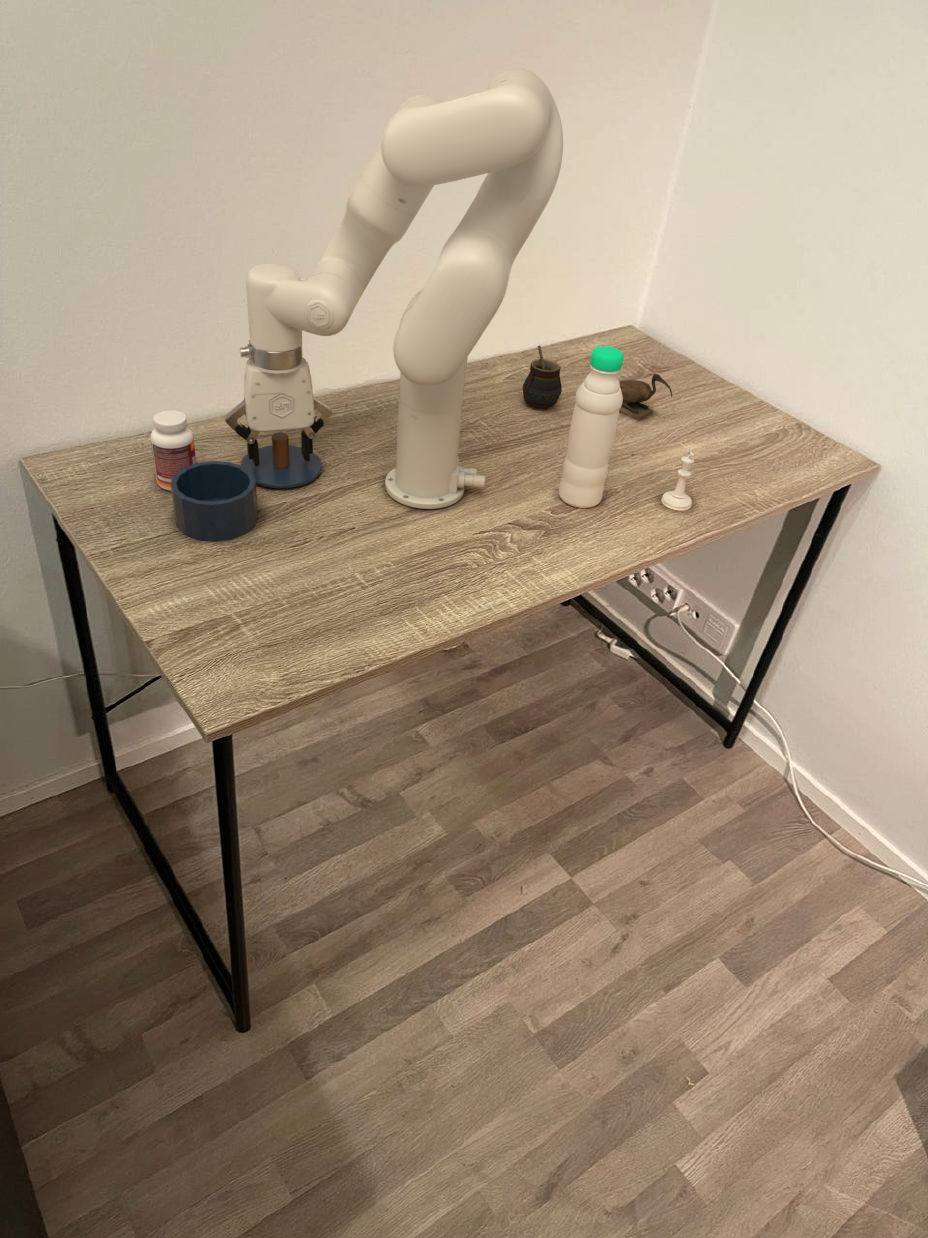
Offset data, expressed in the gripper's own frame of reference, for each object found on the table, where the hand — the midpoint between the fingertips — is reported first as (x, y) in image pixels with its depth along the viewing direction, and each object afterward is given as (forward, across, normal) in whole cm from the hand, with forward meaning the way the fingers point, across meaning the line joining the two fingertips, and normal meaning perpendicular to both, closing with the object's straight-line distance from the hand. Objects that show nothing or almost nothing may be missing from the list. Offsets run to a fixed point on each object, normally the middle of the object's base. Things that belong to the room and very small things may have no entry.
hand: (280, 458), depth 148 cm
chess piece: (+2, +60, -22) cm, 64 cm away
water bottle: (+2, +45, -17) cm, 48 cm away
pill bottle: (+2, -16, 0) cm, 16 cm away
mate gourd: (+2, +51, +14) cm, 53 cm away
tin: (+2, -12, -12) cm, 17 cm away
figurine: (+2, +68, +8) cm, 69 cm away
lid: (+2, 0, 0) cm, 2 cm away
